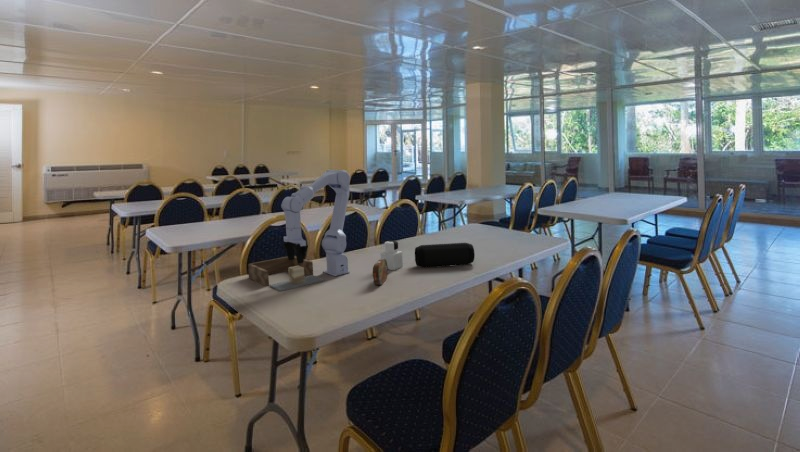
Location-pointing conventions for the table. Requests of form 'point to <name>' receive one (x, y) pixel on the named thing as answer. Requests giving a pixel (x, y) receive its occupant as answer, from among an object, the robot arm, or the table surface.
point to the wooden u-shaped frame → (275, 268)
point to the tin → (380, 272)
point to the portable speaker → (444, 254)
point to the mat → (288, 285)
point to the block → (296, 274)
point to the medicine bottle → (392, 255)
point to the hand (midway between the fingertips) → (295, 261)
